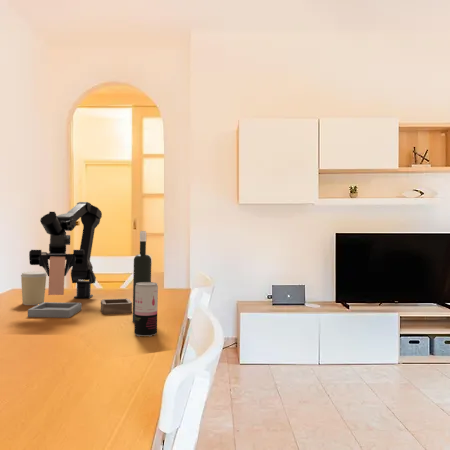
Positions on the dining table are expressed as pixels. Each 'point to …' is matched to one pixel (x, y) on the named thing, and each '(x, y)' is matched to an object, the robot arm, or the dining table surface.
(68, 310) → the grey square tray
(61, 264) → the terracotta block
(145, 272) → the wine bottle
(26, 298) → the coffee cup
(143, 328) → the beverage can
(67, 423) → the dining table surface
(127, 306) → the walnut sleeve
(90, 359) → the dining table surface
